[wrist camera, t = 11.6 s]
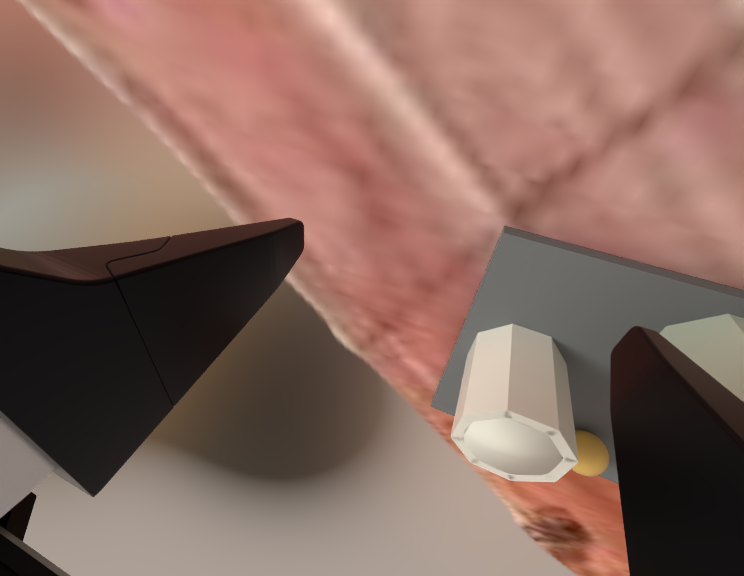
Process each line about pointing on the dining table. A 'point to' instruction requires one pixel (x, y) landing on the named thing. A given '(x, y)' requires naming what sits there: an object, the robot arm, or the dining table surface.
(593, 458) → the amber marble
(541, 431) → the cream cup
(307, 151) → the dining table surface
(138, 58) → the dining table surface
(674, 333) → the sage cup
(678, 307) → the mat
